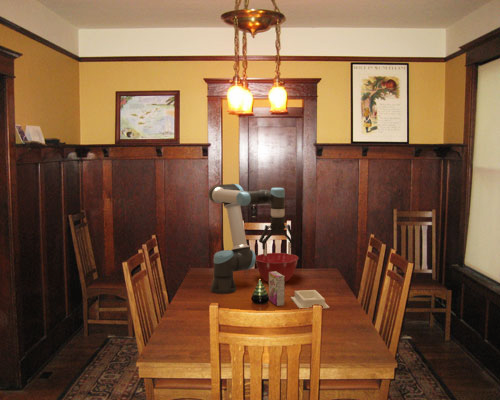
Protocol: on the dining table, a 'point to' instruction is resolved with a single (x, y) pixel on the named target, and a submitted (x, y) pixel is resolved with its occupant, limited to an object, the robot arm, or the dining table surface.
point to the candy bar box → (276, 288)
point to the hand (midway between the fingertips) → (277, 254)
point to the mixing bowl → (276, 264)
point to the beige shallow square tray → (308, 299)
